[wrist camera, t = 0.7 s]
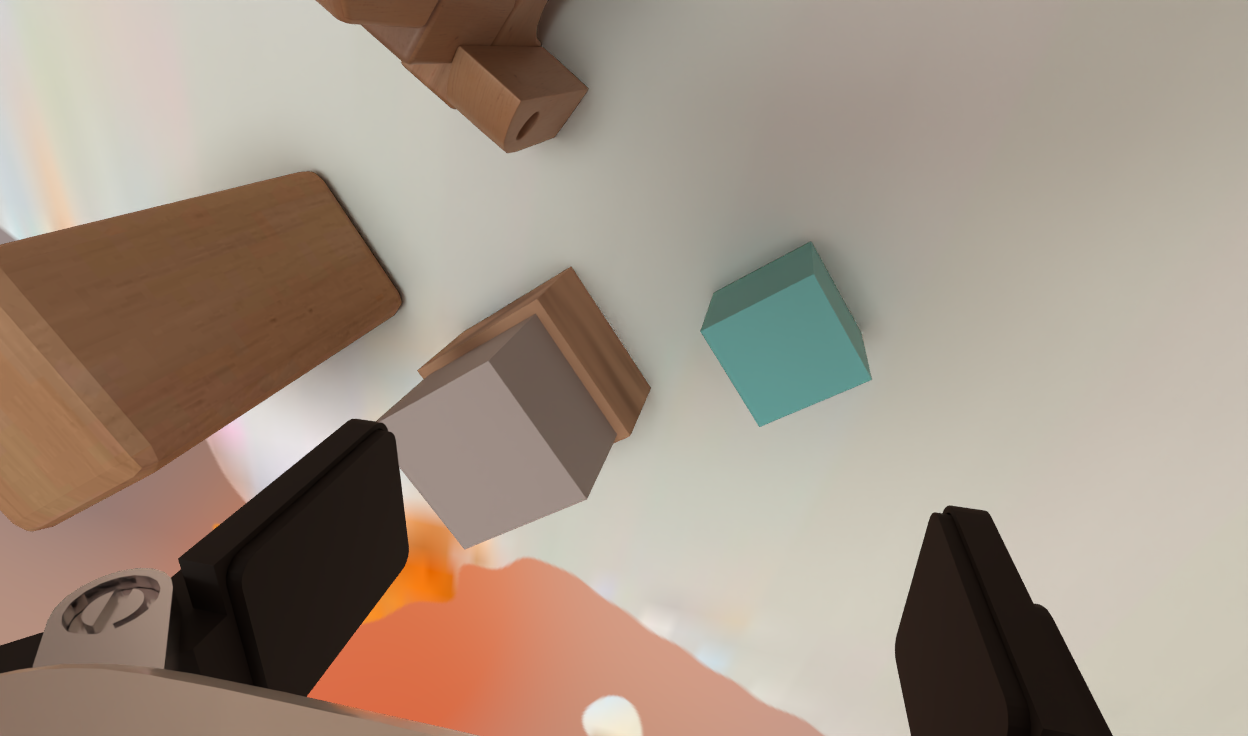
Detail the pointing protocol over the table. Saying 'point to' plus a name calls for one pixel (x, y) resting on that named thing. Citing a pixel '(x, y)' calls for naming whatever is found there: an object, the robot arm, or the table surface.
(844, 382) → the teal cube
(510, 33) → the wooden toy
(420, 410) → the tower mid
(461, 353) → the tower base
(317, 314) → the wooden block
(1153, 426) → the table surface
